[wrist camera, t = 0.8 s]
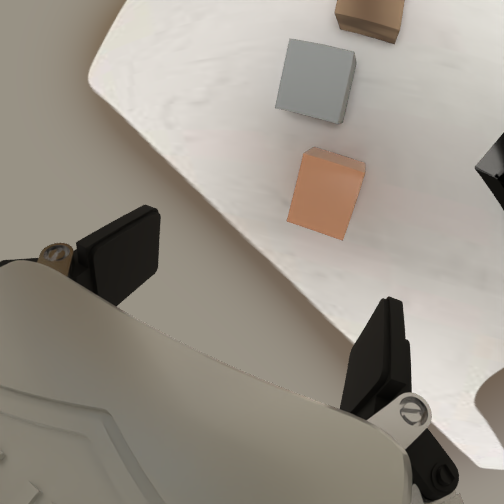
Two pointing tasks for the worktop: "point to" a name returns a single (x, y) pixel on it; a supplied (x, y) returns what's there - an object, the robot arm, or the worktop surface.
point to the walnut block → (371, 17)
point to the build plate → (494, 169)
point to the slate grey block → (316, 80)
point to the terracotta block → (326, 192)
